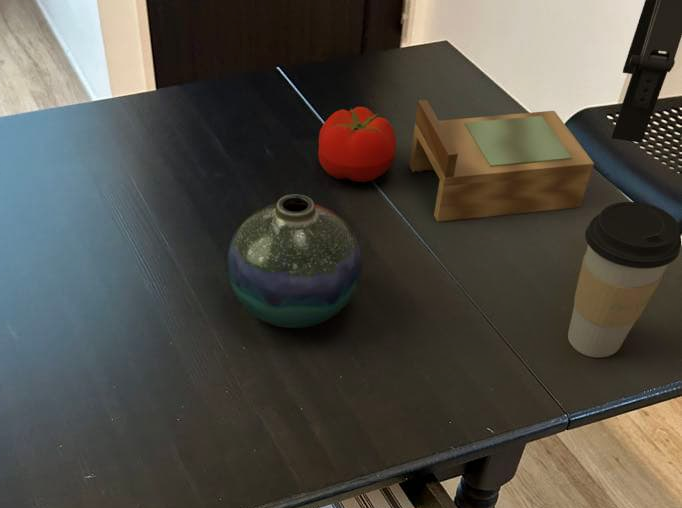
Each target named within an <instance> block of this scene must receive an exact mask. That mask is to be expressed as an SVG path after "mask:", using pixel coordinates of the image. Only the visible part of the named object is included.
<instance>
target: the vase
mask: <svg viewBox="0 0 682 508" xmlns="http://www.w3.org/2000/svg"><path fill="white" fill-rule="evenodd" d="M360 245H361V244H360V243H359V239H358V237H357V235H356V233H355V231H354V229H353V228H352V227H351V226H350V225H349V224H348V222H347V221H346V220H345V219H344V218H342V217H341V216H340V215H339V214H338V213H336V212H334V211H332V210H331V209H329V208H327V207H325V206H323V205H319V204H317V203H315V202H314V201H313V200H312V198H310V197H309V196H306V195H304V194H299V193H292V194H286V195H284V196H281V197H280V199H278V201H277V202H275V203H271V204H269V205H267V206H264V207H262V208H260V209H258V210H255V212H253V213H251V214H250V215H249V216H247V217H246V218H245V219H244V220H243V221H242V222H241V223H240V224H239V225H238V227H237V228H236V230H235V231H234V233H233V234H232V236H231V239H230V242H229V245H228V248H227V254H226V255H227V256H226V269H227V276H228V280H229V283H230V285H231V289H232V290H233V294H234V295H235V296H236V297H237V299H238V301H239V303H240V304H241V305H242V306H243V307H244V308H245V310H247V311H248V312H249V314H251V315H252V316H254V317H255V318H256V319H259V320H260V321H262V322H263V323H266V324H268V325H271V326H274V327H275V326H276V327H279V328H286V329H301V328H302V329H303V328H309V327H313V326H318V325H320V324H322V323H324V322H326V321H328V320H331V318H333V317H335V316H337V314H339V313H340V312H341V310H343V309H344V308H345V307H346V305H347V304H348V303H349V301H350V300H351V299H352V298H353V296H354V293H355V292H356V289H357V287H358V285H359V282H360V278H361V274H362V273H361V272H362V266H363V259H362V258H363V255H362V249H361V246H360Z"/></svg>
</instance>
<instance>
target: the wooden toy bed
mask: <svg viewBox="0 0 682 508" xmlns="http://www.w3.org/2000/svg"><path fill="white" fill-rule="evenodd" d="M412 136H413V137H412V142H411V143H412V145H411V152H410V158H409V165H408V167H409V168H410V170H411V172H412V173H415V171H417V172H425V171H424V170H428V171H432V170H431V169H434V170H433V171H435V173H436V175H437V178H438V179H439V182H438V188H437V195H436V201H435V206H434V212H433V216H434V218H435V220H436V222H437V223H439V222H440V223H441V222H450V221H457V220H458V221H459V220H468V219H478V218H479V219H480V218H489V217H498V216H508V215H517V214H527V213H529V214H530V213H537V212H547V211H557V210H567V209H577V208H581V205H582V202H583V199H584V196H585V193H586V190H587V186H588V183H589V180H590V177H591V175H592V171H593V168H594V165H595V163H594V161H593V160H592V159H591V158H590V156H589V155H588V153H587V152H586V151H585V150H584V148H583V147H582V146H581V144H580V142H578V140H577V139H576V137H575V136H574V135H573V133H572V132H571V131H570V129H569V128H568V127H567V126H566V124H565V122H563V120H562V119H561V117H560V116H559V115H558V113H557V112H556V111H555V110H546V111H533V112H523V113H511V114H510V113H509V114H501V115H489V116H477V117H476V116H475V117H467V118H455V119H443V120H439V119H438V117H437V115H436V113H435V112H434V110H433V107H431V105H430V103H429V101H428V100H427V99H419V100H418V101H417V107H416V113H415V122H414V129H413V135H412ZM422 170H423V171H422Z"/></svg>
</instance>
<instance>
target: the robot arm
mask: <svg viewBox="0 0 682 508" xmlns="http://www.w3.org/2000/svg"><path fill="white" fill-rule="evenodd" d="M681 40H682V0H644V4H643V6H642V9H641V13H640V15H639V19H638V22H637V25H636V28H635V31H634V34H633V37H632V40H631V44H630V46H629V50H628V53H627V56H626V59H625V63H624V66H623V69H622V74H629V75H631V76H630V79H629V81H628V85H627V88H626V91H625V94H624V97H623V101H622V103H621V106H620V109H619V113H618V116H617V119H616V122H615V125H614V127H613V131H612V133H611V139H613V140H619V141H627V142H632V143H639V144H641V143H643V140H644V137H645V135H646V133H647V130H648V127H649V125H650V121H651V118H652V116H653V113H654V110H655V108H656V105H657V101H658V99H659V96H660V94H661V91H662V88H663V85H664V84H665V83H664V82H665V80H666V77H667V74H668V73H670V72H671V71H672V69H673V68H674V66H675V64H676V60H675V58H676V55H677V52H678V50H679V46H680V43H681ZM663 52H664V53H663Z"/></svg>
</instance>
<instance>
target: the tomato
mask: <svg viewBox="0 0 682 508" xmlns="http://www.w3.org/2000/svg"><path fill="white" fill-rule="evenodd" d="M379 115H380V113H377V114H375V113H373V112H372V111H371V110H370V109H369V108H367V107H364V106H356V107H354V108H353V109H352V108H351V107H350V108H349V110H347V109H339V110H337V111H335V112H333V113H332V114H331V115H330V116H329V117H328V118H327V119H326V120H325V122H324V123H323V125H322V126H321V128H320V130H319V135H318V161H319V163H320V166H321V168H323V169H324V171H325V172H326V174H328V175H329V176H331V177H333V178H335V179H336V180H346V179H348V180H350V181H352V182H355V183H356V182H357V183H367V182H370V181H373V180H375V179H376V178H379V177H380V176H382V175H384V174H385V173H386V172H387V171H388V170H389V169H390V168H391V166H392V165H393V162H394V159H395V155H396V154H395V153H396V150H397V137H396V134H395V131H394V128H393V127H392V125H391V124H390V122H389V121H388V120H387V118H384V117H381V116H379ZM378 116H379V117H378Z"/></svg>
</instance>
